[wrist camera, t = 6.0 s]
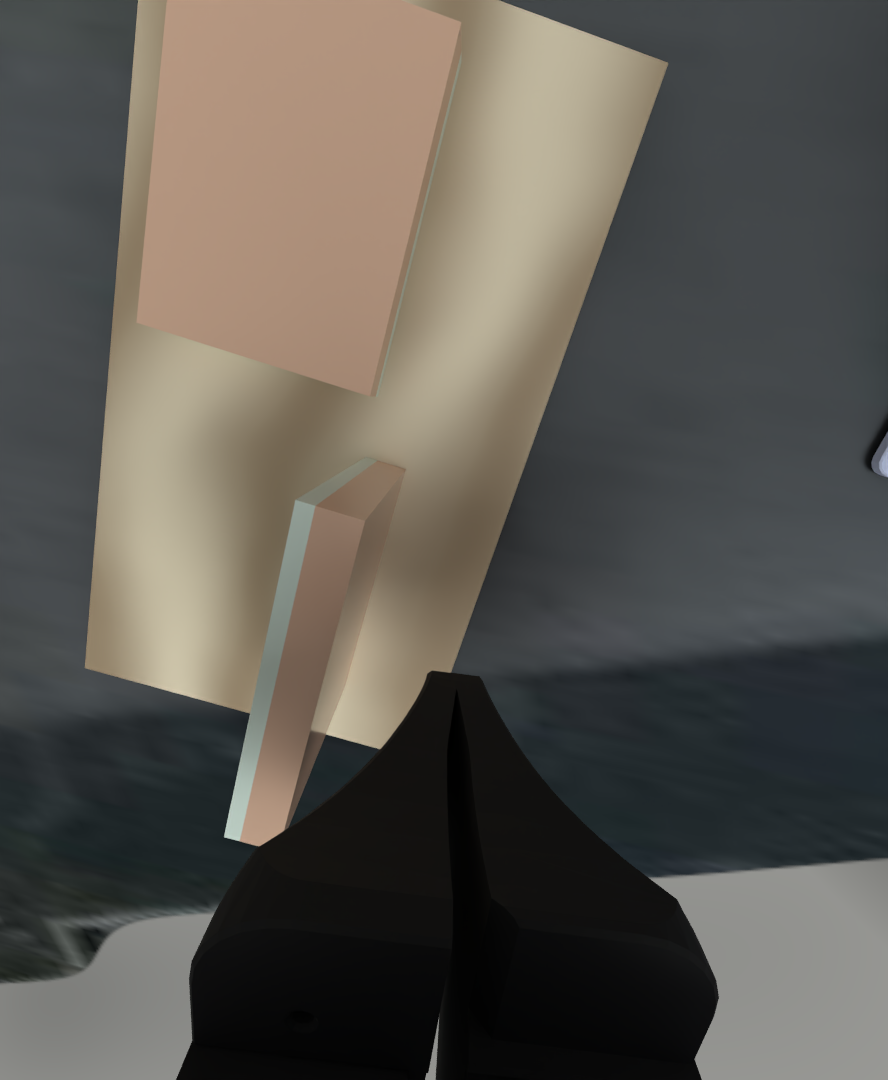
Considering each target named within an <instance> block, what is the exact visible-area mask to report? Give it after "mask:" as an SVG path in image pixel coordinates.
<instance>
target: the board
mask: <svg viewBox="0 0 888 1080" xmlns="http://www.w3.org/2000/svg"><path fill="white" fill-rule="evenodd" d="M402 1H405V2H408V3H410V4H413V5H416V6H419V7H421V8H424V9H427V10H430V11H432V12H435V13H438V14H441V15H443V16H446V17H449V18H452V19H454V20H457V21H460V22H461V66H460V70H459V74H458V78H457V82H456V86H455V90H454V94H453V98H452V102H451V106H450V110H449V114H448V118H447V122H446V126H445V130H444V134H443V138H442V142H441V146H440V150H439V154H438V158H437V162H436V166H435V170H434V174H433V178H432V182H431V186H430V190H429V194H428V198H427V202H426V206H425V210H424V214H423V218H422V222H421V226H420V230H419V234H418V238H417V242H416V246H415V250H414V254H413V259H412V263H411V267H410V271H409V275H408V279H407V283H406V287H405V291H404V295H403V299H402V303H401V307H400V311H399V315H398V319H397V323H396V327H395V331H394V335H393V339H392V343H391V347H390V351H389V355H388V359H387V363H386V367H385V371H384V375H383V379H382V383H381V387H380V391H379V395H378V397H370V396H367V395H364V394H360V393H357V392H354V391H351V390H348V389H345V388H341V387H338V386H335V385H332V384H329V383H326V382H322V381H319V380H316V379H313V378H310V377H307V376H303V375H300V374H297V373H294V372H291V371H288V370H285V369H281V368H278V367H275V366H272V365H269V364H266V363H262V362H259V361H256V360H253V359H250V358H247V357H243V356H240V355H237V354H234V353H231V352H228V351H225V350H221V349H218V348H215V347H212V346H209V345H206V344H202V343H199V342H196V341H193V340H190V339H187V338H183V337H180V336H177V335H174V334H171V333H168V332H164V331H161V330H158V329H155V328H152V327H149V326H146V325H142V324H139V323H136V322H137V311H138V301H139V290H140V279H141V269H142V258H143V248H144V237H145V226H146V216H147V205H148V195H149V184H150V173H151V163H152V152H153V141H154V131H155V120H156V110H157V99H158V88H159V78H160V67H161V57H162V46H163V35H164V25H165V14H166V3H167V0H138V10H137V22H136V35H135V47H134V60H133V72H132V85H131V97H130V110H129V122H128V135H127V147H126V160H125V172H124V185H123V197H122V210H121V222H120V235H119V247H118V260H117V272H116V285H115V297H114V310H113V322H112V335H111V348H110V360H109V373H108V385H107V398H106V410H105V423H104V435H103V448H102V460H101V473H100V485H99V498H98V510H97V523H96V535H95V548H94V560H93V573H92V585H91V598H90V610H89V623H88V635H87V648H86V660H85V668H87V669H91V670H94V671H98V672H102V673H105V674H109V675H112V676H116V677H120V678H123V679H127V680H131V681H134V682H138V683H142V684H145V685H149V686H152V687H156V688H160V689H163V690H167V691H171V692H174V693H178V694H182V695H185V696H189V697H192V698H196V699H200V700H203V701H207V702H211V703H214V704H218V705H222V706H225V707H229V708H232V709H236V710H240V711H243V712H247V713H250V712H251V707H252V703H253V698H254V693H255V688H256V684H257V679H258V674H259V670H260V665H261V660H262V655H263V651H264V646H265V641H266V636H267V632H268V627H269V622H270V618H271V613H272V608H273V603H274V599H275V594H276V589H277V585H278V580H279V575H280V570H281V566H282V561H283V556H284V551H285V547H286V542H287V537H288V533H289V528H290V523H291V518H292V514H293V509H294V504H295V500H296V499H298V498H299V497H301V496H303V495H304V494H306V493H308V492H309V491H311V490H313V489H314V488H316V487H317V486H319V485H321V484H322V483H324V482H326V481H327V480H329V479H331V478H332V477H334V476H336V475H337V474H339V473H341V472H342V471H344V470H346V469H347V468H349V467H350V466H352V465H354V464H355V463H357V462H359V461H360V460H362V459H364V458H365V457H368V458H372V459H375V460H378V461H381V462H385V463H388V464H391V465H394V466H397V467H401V468H404V469H406V471H405V475H404V478H403V482H402V485H401V489H400V492H399V496H398V500H397V503H396V507H395V510H394V514H393V517H392V521H391V525H390V528H389V532H388V535H387V539H386V542H385V546H384V550H383V553H382V557H381V560H380V564H379V567H378V571H377V575H376V578H375V582H374V585H373V589H372V592H371V596H370V600H369V603H368V607H367V610H366V614H365V617H364V621H363V625H362V628H361V632H360V635H359V639H358V642H357V646H356V650H355V653H354V657H353V660H352V664H351V667H350V671H349V675H348V678H347V682H346V685H345V688H344V690H343V693H342V695H341V698H340V700H339V703H338V705H337V708H336V710H335V713H334V715H333V718H332V720H331V723H330V725H329V728H328V730H327V733H326V734H327V735H331V736H334V737H338V738H342V739H345V740H349V741H352V742H356V743H360V744H363V745H367V746H371V747H374V748H378V749H381V748H382V747H383V745H384V744H385V743H386V742H387V741H388V739H389V738H390V737H391V735H392V734H393V733H394V731H395V730H396V729H397V727H398V726H399V725H400V723H401V722H402V721H403V719H404V718H405V716H406V715H407V713H408V712H409V710H410V708H411V707H412V705H413V704H414V702H415V701H416V699H417V697H418V695H419V693H420V691H421V689H422V687H423V685H424V683H425V680H426V676H427V673H429V672H430V671H432V670H433V671H440V672H448V673H451V671H452V668H453V665H454V662H455V660H456V657H457V654H458V651H459V648H460V646H461V643H462V640H463V637H464V634H465V632H466V629H467V626H468V623H469V620H470V618H471V615H472V612H473V609H474V606H475V604H476V601H477V598H478V595H479V592H480V590H481V587H482V584H483V581H484V578H485V576H486V573H487V570H488V567H489V564H490V562H491V559H492V556H493V553H494V550H495V548H496V545H497V542H498V539H499V536H500V534H501V531H502V528H503V525H504V522H505V520H506V517H507V514H508V511H509V508H510V506H511V503H512V500H513V497H514V494H515V492H516V489H517V486H518V483H519V480H520V478H521V475H522V472H523V469H524V466H525V464H526V461H527V458H528V455H529V452H530V449H531V447H532V444H533V441H534V438H535V435H536V433H537V430H538V427H539V424H540V421H541V419H542V416H543V413H544V410H545V407H546V405H547V402H548V399H549V396H550V393H551V391H552V388H553V385H554V382H555V379H556V377H557V374H558V371H559V368H560V365H561V363H562V360H563V357H564V354H565V351H566V349H567V346H568V343H569V340H570V337H571V335H572V332H573V329H574V326H575V323H576V321H577V318H578V315H579V312H580V309H581V307H582V304H583V301H584V298H585V295H586V293H587V290H588V287H589V284H590V281H591V279H592V276H593V273H594V270H595V267H596V265H597V262H598V259H599V256H600V253H601V251H602V248H603V245H604V242H605V239H606V237H607V234H608V231H609V228H610V225H611V223H612V220H613V217H614V214H615V211H616V209H617V206H618V203H619V200H620V197H621V194H622V192H623V189H624V186H625V183H626V180H627V178H628V175H629V172H630V169H631V166H632V164H633V161H634V158H635V155H636V152H637V150H638V147H639V144H640V141H641V138H642V136H643V133H644V130H645V127H646V124H647V122H648V119H649V116H650V113H651V110H652V108H653V105H654V102H655V99H656V96H657V94H658V91H659V88H660V85H661V82H662V80H663V77H664V74H665V71H666V68H667V66H668V63H667V62H664V61H662V60H659V59H656V58H654V57H651V56H648V55H645V54H643V53H640V52H637V51H635V50H632V49H629V48H626V47H624V46H621V45H618V44H616V43H613V42H610V41H608V40H605V39H602V38H599V37H597V36H594V35H591V34H589V33H586V32H583V31H580V30H578V29H575V28H572V27H570V26H567V25H564V24H561V23H559V22H556V21H553V20H551V19H548V18H545V17H543V16H540V15H537V14H534V13H532V12H529V11H526V10H524V9H521V8H518V7H515V6H513V5H510V4H507V3H505V2H502V1H499V0H402Z"/></svg>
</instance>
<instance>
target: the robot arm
mask: <svg viewBox="0 0 888 1080" xmlns="http://www.w3.org/2000/svg"><path fill="white" fill-rule="evenodd" d="M871 464H872V469H873V471H874V472H875V473H877V474H878V475H881V476H884V477H887V478H888V432H887V434H886V436H885V437H884V439H883V441H882V442H881V444H880V446H879V448H878V449H877V451H876V453H875V454H874V456H873V459H872V462H871ZM189 985H190V1003H191V1022H192V1043H191V1045H190V1048H189V1050H188V1052H187V1055H186V1057H185V1060H184V1062H183V1064H182V1067H181V1069H180V1072H179V1074H178V1076H177V1079H176V1080H425V1077H426V1073H428V1071H429V1066H430V1061H431V1055H432V1050H433V1045H434V1039H435V1034H436V1029H437V1024H438V1018H439V1032H438V1049H437V1051H438V1052H437V1067H436V1080H702V1079H701V1076H700V1074H699V1071H698V1068H697V1065H696V1062H695V1060H694V1059H695V1056H696V1054H697V1052H698V1050H699V1048H700V1046H701V1043H702V1041H703V1039H704V1037H705V1035H706V1033H707V1030H708V1028H709V1026H710V1024H711V1021H712V1019H713V1017H714V1014H715V1010H716V1006H717V1002H718V999H719V996H718V989H717V983H716V979H715V977H714V974H713V972H712V970H711V968H710V965H709V963H708V961H707V959H706V956H705V954H704V952H703V949H702V947H701V945H700V943H699V941H698V939H697V937H696V935H695V933H694V930H693V929H692V927H691V925H690V923H689V921H688V919H687V918H686V916H685V914H684V912H683V911H682V908H681V906H680V904H679V902H678V901H677V899H676V898H674V897H673V896H672V895H670V894H669V893H668V892H666V891H665V890H664V889H662V888H661V887H660V886H658V885H657V884H656V883H654V882H653V881H652V880H651V879H649V878H648V877H647V876H645V875H644V874H643V873H641V872H640V871H639V870H637V869H636V868H635V867H633V866H632V865H631V864H629V863H628V862H627V861H626V860H624V859H623V858H622V857H621V856H620V855H619V854H617V853H616V852H615V851H614V850H613V849H612V848H611V847H609V846H608V845H607V844H606V843H605V842H604V841H602V840H601V839H600V838H599V837H598V836H597V835H596V834H595V833H594V832H593V831H591V830H590V829H589V828H588V827H587V826H586V825H585V824H584V823H583V822H582V821H581V820H580V819H579V818H578V817H577V816H576V815H575V814H574V813H573V812H572V811H571V810H570V809H569V808H568V807H567V806H566V805H565V804H564V803H563V802H562V801H561V800H560V798H559V797H558V796H557V795H556V794H555V793H554V792H553V791H552V790H551V788H550V787H549V786H548V785H547V784H546V782H545V781H544V780H543V779H542V778H541V776H540V775H539V774H538V773H537V771H536V770H535V769H534V767H533V766H532V765H531V763H530V762H529V761H528V759H527V758H526V756H525V755H524V753H523V752H522V751H521V749H520V748H519V746H518V745H517V743H516V742H515V740H514V738H513V737H512V735H511V734H510V732H509V730H508V729H507V727H506V725H505V724H504V722H503V720H502V719H501V717H500V715H499V713H498V712H497V710H496V708H495V706H494V704H493V702H492V700H491V698H490V696H489V694H488V692H487V690H486V688H485V686H484V683H483V681H482V680H481V678H480V677H479V676H471V675H463V674H456V673H448V672H440V671H433V670H432V671H430V672H429V673H427V676H426V680H425V683H424V685H423V687H422V689H421V691H420V693H419V695H418V697H417V699H416V701H415V702H414V704H413V705H412V707H411V708H410V710H409V712H408V713H407V715H406V716H405V718H404V719H403V721H402V722H401V723H400V725H399V726H398V727H397V729H396V730H395V731H394V733H393V734H392V735H391V737H390V738H389V739H388V741H387V742H386V743H385V744H384V745H383V747H382V748H381V749H380V750H379V751H378V752H377V753H376V755H375V756H374V757H373V758H372V759H371V760H370V761H369V762H368V763H367V764H366V765H365V766H364V767H363V768H362V769H361V770H360V771H359V772H358V773H357V774H356V775H355V776H354V777H353V778H352V779H351V780H350V781H349V782H348V783H346V784H345V785H344V786H343V787H342V788H341V789H340V790H338V791H337V792H336V793H335V794H334V795H332V796H331V797H330V798H329V799H327V800H326V801H325V802H323V803H322V804H321V805H320V806H318V807H317V808H316V809H314V810H313V811H312V812H311V813H309V814H308V815H307V816H305V817H304V818H302V819H301V820H300V821H298V822H297V823H295V824H294V825H292V826H291V827H289V828H288V829H286V830H284V831H283V832H281V833H280V834H278V835H277V836H275V837H274V838H272V839H270V840H269V841H267V842H266V843H264V844H263V845H261V846H259V847H257V848H256V849H255V851H254V852H253V853H252V855H251V856H250V858H249V859H248V860H247V862H246V863H245V865H244V866H243V868H242V869H241V870H240V872H239V873H238V875H237V877H236V878H235V880H234V881H233V883H232V884H231V886H230V887H229V889H228V891H227V893H226V894H225V896H224V897H223V899H222V901H221V902H220V904H219V906H218V908H217V910H216V912H215V913H214V915H213V917H212V920H211V922H210V924H209V926H208V928H207V930H206V932H205V934H204V936H203V939H202V941H201V943H200V945H199V947H198V949H197V951H196V954H195V956H194V958H193V960H192V963H191V970H190V977H189ZM439 1013H440V1015H439Z"/></svg>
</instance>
